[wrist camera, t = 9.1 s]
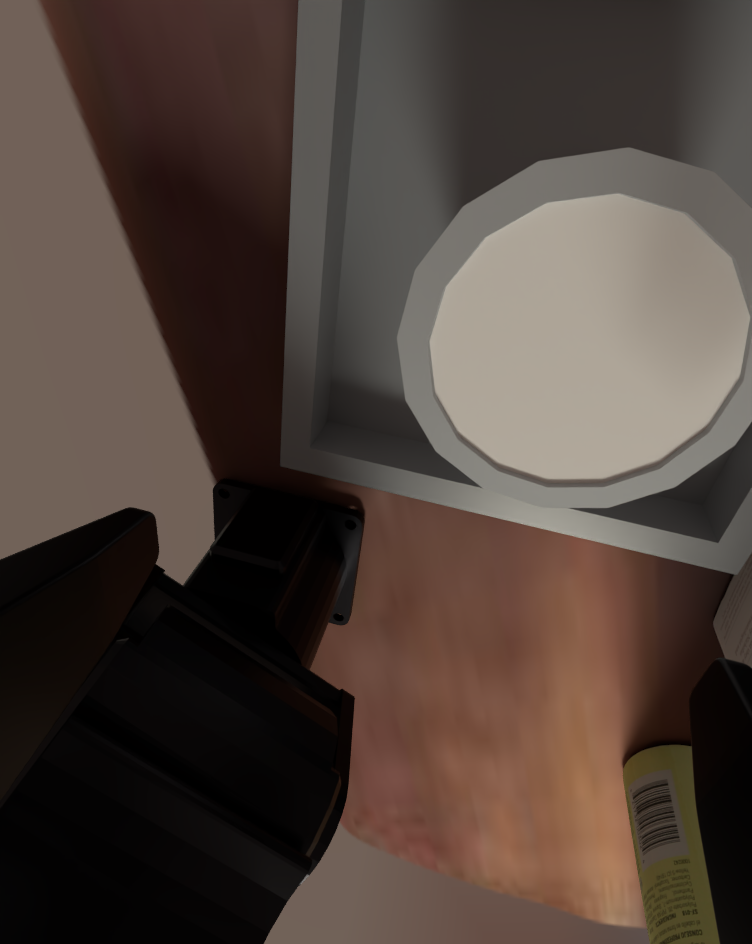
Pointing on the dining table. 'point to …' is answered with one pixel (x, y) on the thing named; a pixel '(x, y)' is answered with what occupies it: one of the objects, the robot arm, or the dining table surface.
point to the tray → (463, 180)
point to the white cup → (585, 330)
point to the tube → (669, 846)
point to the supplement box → (736, 617)
